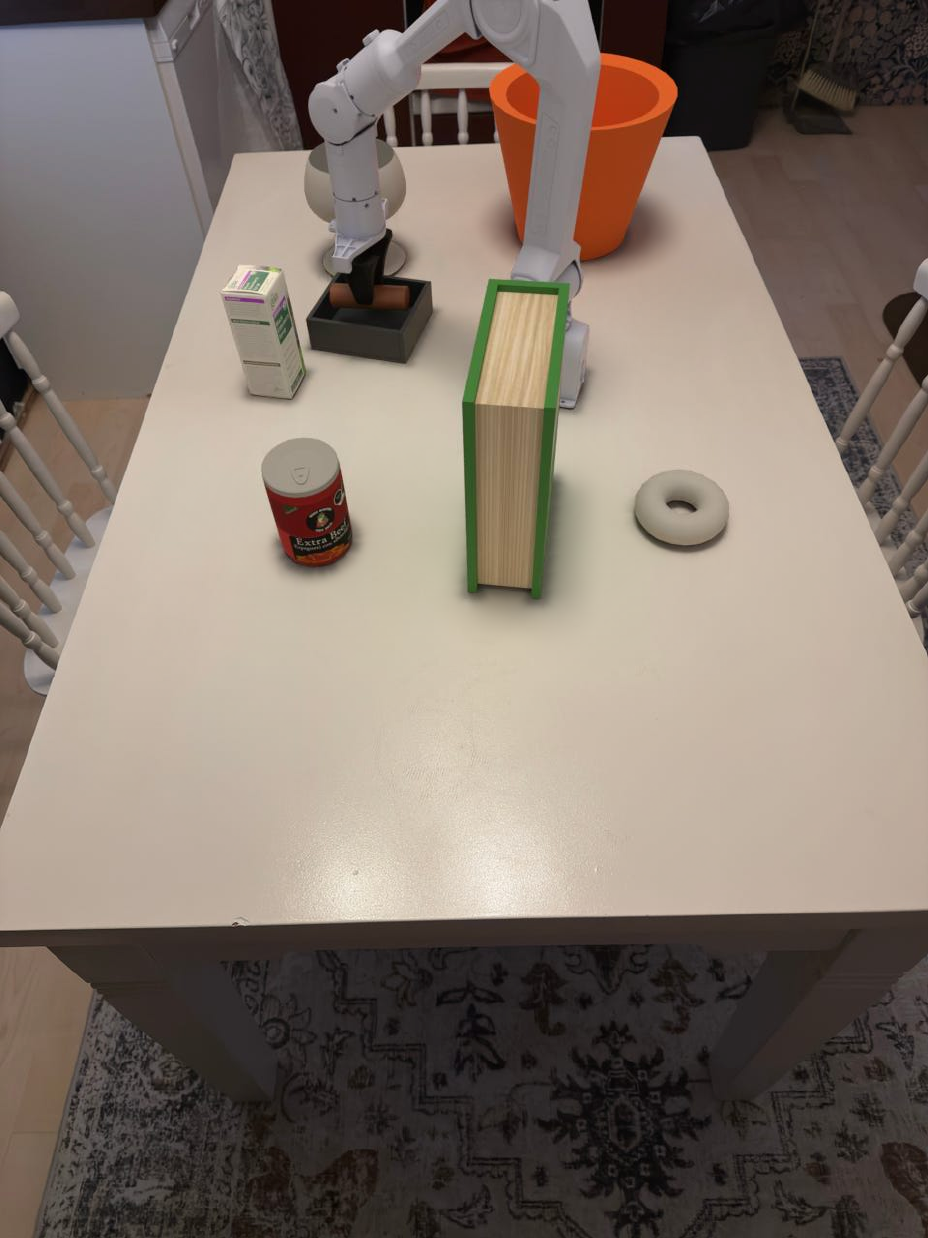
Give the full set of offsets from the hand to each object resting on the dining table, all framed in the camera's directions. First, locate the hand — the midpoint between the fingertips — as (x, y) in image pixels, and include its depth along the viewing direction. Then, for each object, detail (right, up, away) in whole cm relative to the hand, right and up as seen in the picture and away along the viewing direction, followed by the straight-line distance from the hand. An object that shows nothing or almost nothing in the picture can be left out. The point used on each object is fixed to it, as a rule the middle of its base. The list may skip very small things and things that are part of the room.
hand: (369, 295), depth 109 cm
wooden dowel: (0, -2, 0) cm, 2 cm away
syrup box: (-11, -12, -2) cm, 17 cm away
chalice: (-2, +11, +15) cm, 18 cm away
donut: (+36, -31, -18) cm, 51 cm away
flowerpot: (+29, +16, +18) cm, 38 cm away
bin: (0, -3, +4) cm, 5 cm away
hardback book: (+18, -33, -19) cm, 42 cm away
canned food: (-3, -34, -19) cm, 39 cm away
